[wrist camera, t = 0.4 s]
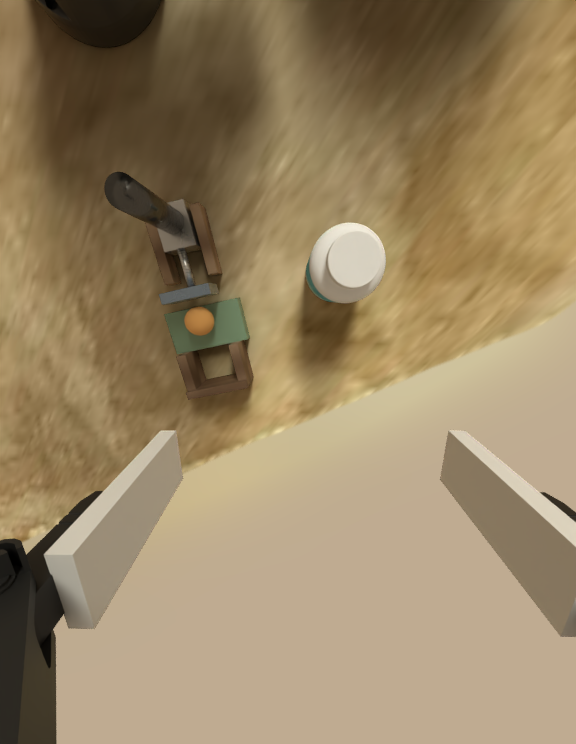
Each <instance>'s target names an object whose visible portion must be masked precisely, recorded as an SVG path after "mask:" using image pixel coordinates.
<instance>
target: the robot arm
mask: <svg viewBox="0 0 576 744" xmlns="http://www.w3.org/2000/svg"><path fill="white" fill-rule="evenodd" d="M160 1H161V0H36V2H37V3H38V4H39V5H40V6H41V7H42V8H43V10H44V11H45V12H46V13H47V14H48V15H49V16H50V18H51V19H52V20H53V21H54V22H55V23H56V24H57V25H58V26H59V27H60V28H61V29H62V30H64V31H65V32H66V33H67V34H69V35H70V36H72V37H73V38H75V39H77V40H79V41H81V42H83V43H86V44H89V45H92V46H97V47H113V46H118V45H121V44H124V43H126V42H129V41H130V40H132V39H134V38H135V37H136V36H138V35H139V34H140V33H141V32H142V31H143V30H144V29H145V28H146V27H147V25H148V24H149V23H150V21H151V20H152V18H153V17H154V15H155V13H156V11H157V9H158V6H159V4H160ZM182 479H183V476H182V468H181V461H180V454H179V447H178V440H177V433H176V431H160V432H159V433H158V434H157V435H156V436H155V437H154V438H153V439H152V440H151V441H150V442H149V444H148V445H147V446H146V447H145V448H144V449H143V450H142V451H141V452H140V453H139V454H138V455H137V456H136V457H135V458H134V459H133V460H132V462H131V463H130V464H129V465H128V466H127V467H126V468H125V469H124V470H123V471H122V472H121V473H120V474H119V475H118V476H117V477H116V478H115V480H114V481H113V482H112V483H111V484H110V485H109V486H108V487H107V488H106V489H105V490H104V491H95V492H94V493H92V494H91V495H89V496H88V497H86V498H85V499H83V500H81V501H80V502H79V503H78V504H77V505H76V506H75V507H74V508H73V509H72V510H71V511H70V512H69V514H68V515H66V516H65V517H64V518H63V519H62V520H61V521H60V522H59V524H58V525H56V526H55V527H54V528H53V529H52V530H51V531H50V532H49V533H48V534H47V535H46V536H45V537H44V538H43V539H42V540H41V541H40V542H39V543H38V544H37V545H36V546H35V547H34V548H33V549H32V550H31V551H30V552H29V553H28V554H27V555H26V553H25V551H24V548H23V545H22V542H21V541H20V540H17V539H4V540H1V541H0V744H56V644H55V643H56V637H55V634H54V631H53V628H54V627H55V625H56V624H57V623H58V621H59V620H60V618H61V617H62V616H63V614H64V616H65V619H66V622H67V625H68V628H78V629H79V628H81V629H95V627H96V626H97V624H98V622H99V621H100V619H101V617H102V615H103V614H104V612H105V610H106V609H107V607H108V605H109V604H110V602H111V600H112V598H113V597H114V595H115V593H116V591H117V590H118V588H119V587H120V585H121V583H122V581H123V580H124V578H125V576H126V574H127V573H128V571H129V569H130V568H131V566H132V564H133V563H134V561H135V559H136V558H137V556H138V554H139V552H140V551H141V549H142V547H143V546H144V544H145V542H146V541H147V539H148V537H149V535H150V534H151V532H152V530H153V529H154V527H155V525H156V524H157V522H158V520H159V518H160V517H161V515H162V513H163V512H164V510H165V508H166V506H167V505H168V503H169V501H170V499H171V498H172V496H173V495H174V493H175V491H176V489H177V488H178V486H179V484H180V483H181V481H182ZM440 480H441V481H442V482H443V484H444V485H445V486H446V488H447V489H448V490H449V492H450V493H451V494H452V496H453V497H454V498H455V500H456V501H457V502H458V503H459V505H460V506H461V507H462V509H463V510H464V511H465V512H466V514H467V515H468V516H469V518H470V519H471V520H472V522H473V523H474V524H475V526H476V527H477V528H478V530H479V531H480V532H481V533H482V535H483V536H484V537H485V539H486V540H487V541H488V542H489V544H490V545H491V546H492V548H493V549H494V550H495V551H496V553H497V554H498V555H499V557H500V558H501V559H502V561H503V562H504V563H505V564H506V566H507V567H508V569H509V570H510V571H511V572H512V574H513V575H514V576H515V578H516V579H517V580H518V581H519V583H520V584H521V585H522V587H523V588H524V589H525V591H526V592H527V593H528V595H529V596H530V597H531V598H532V600H533V601H534V602H535V603H536V605H537V606H538V608H539V609H540V610H541V612H542V613H543V614H544V615H545V617H546V618H547V619H548V621H549V622H550V623H551V625H552V626H553V627H554V628H555V630H556V631H557V632H558V634H559V635H560V636H562V637H564V636H565V637H576V512H574V511H573V510H572V509H571V508H569V507H568V506H567V505H565V504H564V503H563V502H561V501H559V500H557V499H555V498H554V497H552V496H550V495H548V494H546V493H544V492H543V493H542V492H538V491H537V490H536V489H535V488H534V487H532V486H531V485H530V484H529V483H528V482H526V481H525V480H524V479H523V478H521V477H520V476H519V475H518V474H516V473H515V472H514V471H513V470H512V469H510V468H509V467H508V466H507V465H506V464H505V463H503V462H502V461H501V460H500V459H498V458H497V457H496V456H495V455H493V454H492V453H491V452H490V451H489V450H488V449H486V448H485V447H484V446H483V445H482V444H480V443H479V442H478V441H477V440H476V439H474V438H473V437H472V436H470V435H469V434H468V433H467V432H466V431H448V436H447V442H446V449H445V454H444V460H443V466H442V471H441V477H440Z"/></svg>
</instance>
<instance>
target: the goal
mask: <svg viewBox="0 0 576 744" xmlns="http://www.w3.org/2000/svg"><path fill="white" fill-rule="evenodd" d="M229 350H230V353H231V357H232V361H233V364H234V368H235V372H236V374H232V375H227V376H222V377H217V378H212V379H207V380H206V377H205V374H204V371H203V367H202V364H201V361H200V358H199V354H198V351H197V350H195V351H191V352H186V353H183V354H181V355H179V356H177V357H176V358H177V361H178V364H179V367H180V370H181V373H182V376H183V379H184V382H185V385H186V388H187V392H186V395H187V398H188V400H190V399H195V398H200V397H205V396H210V395H215V394H220V393H225V392H230V391H235V390H240V389H245V388H248V387H249V385H250V383H251V381H252V379H253V373H252V369H251V365H250V361H249V357H248V353H247V349H246V346H245V342H244V340H242V341H237V342H233V343H231V344H230V345H229Z"/></svg>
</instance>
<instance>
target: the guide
mask: <svg viewBox="0 0 576 744" xmlns="http://www.w3.org/2000/svg"><path fill="white" fill-rule="evenodd" d="M189 206H190V210H191V213H192V217H193V221H194V224H195V228H196V231H197V235H198V239H199V242H200V246H201V250H202V253H203V257H204V260H205V264H206V268H207V271H208V275H212V276H215V275H219V274H222V271H221V267H220V263H219V259H218V255H217V252H216V248H215V244H214V240H213V236H212V233H211V229H210V225H209V221H208V217H207V214H206V210H205V208H204V207H203V206H202V205H201V204H200V203H199V202H198V203H194V204H190V205H189ZM145 224H146V227H147V230H148V233H149V236H150V239H151V243H152V246H153V249H154V252H155V255H156V258H157V262H158V265H159V268H160V271H161V274H162V277H163V280H164V284H165V285H177V284H181V281H180V278H179V274H178V271H177V268H176V264H175V261H174V258H173V255H171V254H168V253H165V252H164V249H163V246H162V242H161V239H160V236H159V233H158V229H157V228H156V227H154V226H152V225H150V224H148V223H146V222H145Z"/></svg>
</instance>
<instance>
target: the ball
mask: <svg viewBox="0 0 576 744" xmlns="http://www.w3.org/2000/svg"><path fill="white" fill-rule="evenodd" d="M184 321H185V326H186V328H187V329H188V330H189V331H190V332H191V333H192V334H195V335H199V336H202V335H206V334H208V333H209V332H210V331H211V330H212V329H213V327H214V317H213V315H212V313H211V312H210V311H209V310H208V309H206V308H204V307H194V308H191V309H190V310H189V311H188V312H187V313H186V315H185V319H184Z"/></svg>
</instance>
